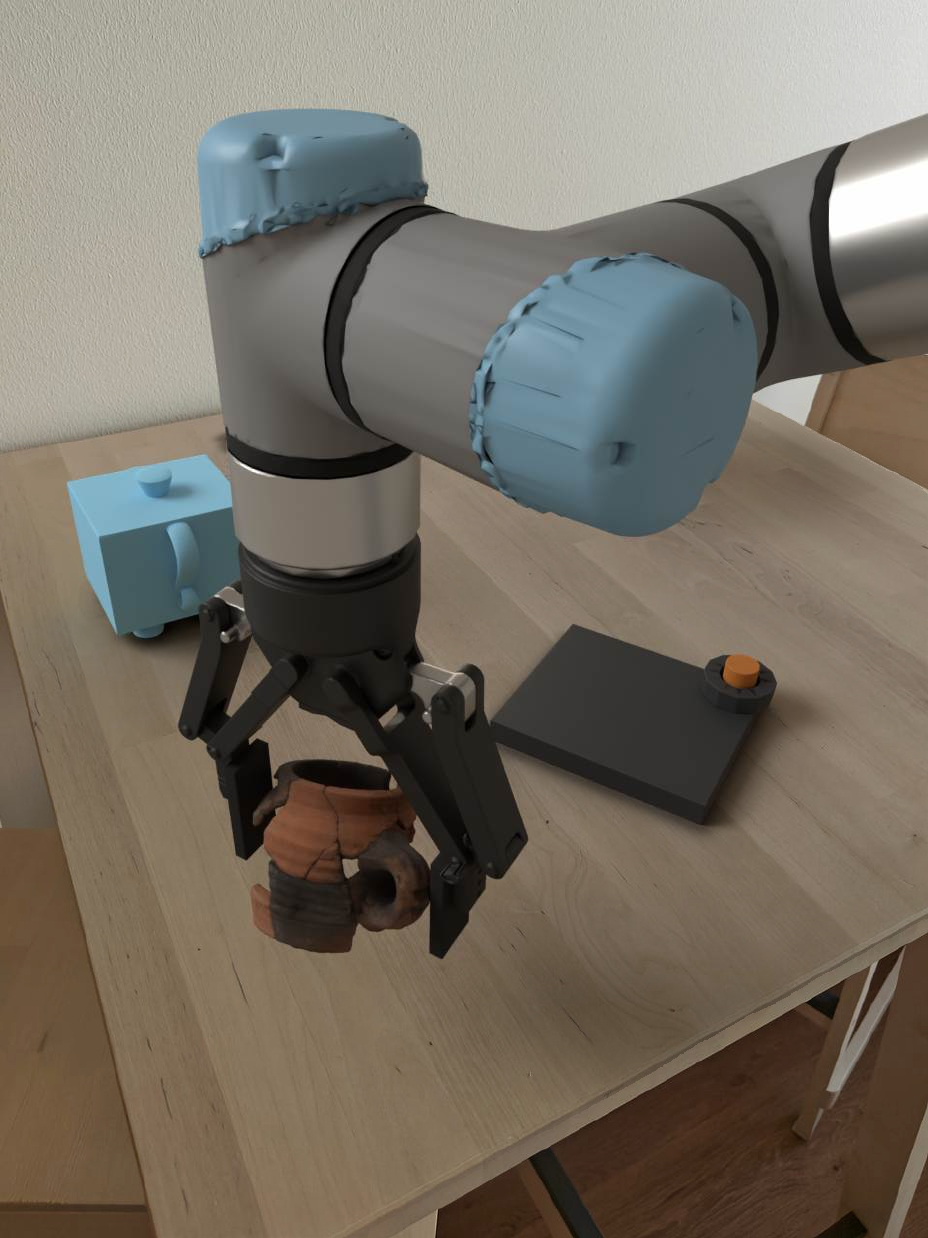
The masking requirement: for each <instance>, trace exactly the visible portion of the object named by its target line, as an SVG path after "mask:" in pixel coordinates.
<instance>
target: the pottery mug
mask: <svg viewBox="0 0 928 1238" xmlns="http://www.w3.org/2000/svg"><path fill="white" fill-rule="evenodd" d="M272 778H273V779H274V780H277V783H276V786H273V789H272V790H270V791H269V792H268V794H267V795H266V796H265V797H264V798H263V799H262V801H261V802H260V804H259V806H258V808H257V809H256V810H255V812H254V813H253V824H254V825H255V826H258V825H260V824H261V822H262V821H263V820H264V818H265V816H266V815H267V814H269V813H271V812H272V811H273V810H277V809H279V808H280V809H279V810H278V811H277V812H276V816H275V817H274V818H273V819H272V820H271V822H270V824H269V825H268V827H267V828H266V829H265V831H264V842H263V843H264V844H263V849H264V851H265V852H266V854H267V856H268V857H270V860H269V861H268V869H267V870H268V871H267V873H268V875H267V876H268V878H269V882H268V887H269V890H268V889H266V888H265V887H264V886H263V885H262V884H260V883H255V884H253V885H252V886H251V888H250V901H251V909H252V912H253V924H254V925H255V926H256V928H257V930H259V931H260V932H261V933H262V934H264V935H265V936H267V937H269V938H271V939H274V940H275V941H277V942H279V943H281V944H284V945H287V946H290V947H291V948H293V949H296V950H304V951H307V952H310V953H318V954H344V953H350V952H351V950H352V947H353V941H354V940H353V939H354V936H356V933H357V928H358V926H359V925H360V926H361V927H362V928H363V929H364V930H366V931H368V932H371V933H380V932H383V931H385V930H393V931H394V930H396V931H399V930H402V929H405V928H407V927H408V926H411V925H413V924H415V923H416V922H417V921H418V920H419V919H420V918H421V917H422V915H423V914H424V912H425V911H426V909H427V908H428V907H429V906H430V865H429V864H428V862H427V860H426V858H425V857H424V856H423V855H422V854H421V853H420V852H419V851H418V850H417V849H416V848H414V847H413V846H412V845H411V844H413V842H414V837H415V835H416V833H417V832H416V828H415V824H414V823H415V821H416V820H417V817H418V816H417V814H416V813H415V811H414V810H413V808H412V806H411V805H410V803H409V802H408V800H407V798H406V797H405V795H404V794H403V792H402V790H401V789H400V787H399V786H398V784H397V783H396V787H394V788H391V789H390V784H391V780H392V774H391V773H390V771H389V769H388V768H383V767H381V766H376V765H373V764H367V763H362V762H358V761H350V760H341V759H340V760H339V759H326V758H308V759H307V758H306V759H294V760H289V761H287V762H284V763H282V764H281V765H279V766H278V768H277V769H276V771H275V773H274V774H273V775H272ZM344 860H350V861H354V860H357V869H358V871H356V872H355V873H354V874H352V875H351V876H349V877H347V876H346V873H345V869H344V863H343V861H344Z"/></svg>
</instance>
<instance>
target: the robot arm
mask: <svg viewBox="0 0 928 1238" xmlns="http://www.w3.org/2000/svg"><path fill="white" fill-rule="evenodd" d="M423 163H424V162H423V148H422V144H421V140H420V138H419V136H418V134H417V133H416V132H415V131H414V130H413V128H411V127H410V126H409V125H407V123H403V122H400V121H399V120H398V119H396V118H394V117H392V116H388V115H385V114H379V113H374V112H368V111H361V110H360V111H359V110H351V109H339V108H338V109H337V108H281V109H279V108H278V109H267V110H259V111H257V110H256V111H251V112H243V113H240V114H236V115H232V116H229V117H226V118H224V119H222V120H219V121H217V122H216V123H215V124H214V125H212V126H211V127H209V129H208V130H207V131H206V132H205V133H203V136H202V138H201V140H200V142H199V145H198V148H197V153H196V165H197V177H198V178H197V180H198V193H199V208H200V209H199V210H200V222H201V240H200V241H199V243H198V248H197V253H198V258H199V259H201V261H202V270H203V276H204V285H205V292H206V300H207V307H208V315H209V322H210V323H209V324H210V330H211V331H210V332H211V338H212V346H213V353H214V361H215V368H216V369H215V370H216V378H217V383H218V384H217V385H218V393H219V399H220V406H221V407H220V408H221V415H222V422H223V426H224V431H225V432H224V433H225V438H226V439H225V444H226V446H225V447H226V455H227V456H226V457H227V467H228V478H229V482H230V488H231V498H232V509H233V519H234V527H235V534H236V537H237V538H238V539H239V540H240V543H239V546H238V558H239V567H240V576H241V580H235V581H234V582H232V583H231V584H229V585H228V586H226V587H225V588H224V589H222V590H221V591H219V592H218V593H216V594H215V595H214V596H212V597H210V598H209V599H208V600H206V601H205V602H203V603H202V604H200V606H199V614H198V619H199V628H200V636H201V637H200V638H201V641H200V644H199V648H198V652H197V655H196V659H195V662H194V666H193V670H192V673H191V677H190V680H189V684H188V686H187V691H186V693H185V698H184V701H183V704H182V708H181V712H180V715H179V719H178V722H177V729H178V732H179V733H180V734H181V736H182V737H184V738H185V739H187V740H188V741H191V742H192V741H195V740H196V739H199V740H200V741H202V742H203V743H205V744H206V747H205V748H206V752H207V753H208V755H209V757H210V758H211V759H212V760H213V761H215V769H216V775H217V781H218V789H219V792H220V794H221V797H222V798H223V799H225V800H227V805H228V811H229V819H230V823H231V824H230V825H231V831H232V832H231V833H232V839H233V845H234V852H235V856H236V857H238V858H240V859H242V860H244V861H246V862H247V861H248V860H249V859H250V858H251V857H252V856H253V855H254V854H255V853H256V852H257V851H258V850H259V849H260V848H261V847H262V846H264V843H263V842H264V831H265V829H266V828H267V827H268V825H269V824H270V822H271V820H272V819H273V818H274V817H275V816H276V815H277V809H275V810H273V811H272V812H271V813H269V814H267V815H266V816H265V818H264V820H263V821H262V822H261V824H260V825H258V826H255V825H254V824H253V813H254V812H255V810H256V809H257V808H258V806H259V804H260V802H261V801H262V799H263V798H264V797H265V796H266V795H267V794H268V792H269V791H270V790H272V789H273V788H274V782H273V774H272V765H271V756H270V755H271V754H270V745H269V742H267V741H265V740H263V739H261V738H258V737H256V738H255V739H254V740H253V741H252V742H251V743H250V738H252V737H253V736H254V735H255V734H256V733H258V732H259V731H260V730H261V729H262V728H263V727H264V726H263V725H265V723H266V722H267V721H268V720H269V719H270V718H271V717H272V716H273V715H274V714H275V713H276V712H277V711H278V710H279V709H280V708H281V707H282V706H283V704H284V703H285V702H287V700H289V698H292V699H293V700H295V701H296V702H297V703H298V709H301V710H303V711H305V712H307V713H309V714H311V715H312V714H313V715H317V716H325V717H327V718H329V719H330V720H331V721H333V722H334V723H336V724H338V725H339V726H341V727H343V728H345V729H348V730H350V731H353V732H354V733H355V735H356V736H357V738H358V739H359V742H360V743H361V744H362V746H363V747H364V749H365V751H366V752H367V753H368V755H370V756H372V757H380V758H381V760H382V761H383V763H384V765H385V766H386V769H387V770H389V771H390V773H391V777H393V779H394V781H395V782H396V785H397V784H398V786H399V787H400V789H401V790H402V792H403V794H404V795H405V797H406V798H407V800H408V802H409V803H410V805H411V806H412V808H413V810H414V811H415V813H416V814H417V816H416V817H417V818H418V819H419V821H420V823H421V825H422V826H423V827H424V829H425V831H426V832H427V834H428V835H429V837H430V838H431V840H432V843H434V845H435V846H436V848H437V850H438V851H439V853H438V854H437V855H436V857H434V859H433V860H432V862H430V865H429V868H430V903H429V933H428V934H429V937H428V939H429V940H428V941H429V943H428V944H429V945H428V952H429V953H428V954H430V955H432V956H434V957H435V958H437V959H440V960H443V959H444V958H445V957H446V955H447V954H448V952H449V951H450V950H451V948H452V946H453V945H454V944H455V943H456V941H457V939H458V938H459V937H460V935H461V934H462V932H463V931H464V929H465V928H466V926H467V925H468V923H469V922H470V912H471V910H472V909H473V908H474V906H475V904H476V903H477V902H478V900H479V899H480V897H481V896H482V895H483V893H484V892H485V890H486V889H487V877H488V878H491V879H493V880H501V879H503V878H504V877H505V875H506V874H507V873H508V871H509V870H510V868H511V867H512V866H513V864H514V863H515V861H516V860H517V858H518V857H519V855H520V854H521V852H522V851H523V850H524V849H525V847H526V845H527V844H528V842H529V835H528V832H527V829H526V826H525V824H524V821H523V818H522V815H521V812H520V810H519V807H518V803H517V801H516V798H515V795H514V791H513V789H512V786H511V784H510V781H509V778H508V775H507V773H506V769H505V765H504V763H503V760H502V757H501V755H500V752H499V749H498V747H497V742H496V741H495V740H494V737H493V734H492V731H491V729H490V722H489V720H488V717H487V714H486V712H485V675H484V673H483V671H482V670H481V669H480V668H479V667H478V666H477V665H475V664H473V663H468V662H467V663H464V664H462V666H460V668H458V669H457V670H456V671H455V672H452V671H450V670H446V669H444V668H441V667H438V666H435V665H432V664H429V663H426V661H425V658H424V655H423V653H422V652H421V650H420V648H419V645H418V642H417V639H416V631H417V626H418V621H419V616H420V612H421V606H422V605H421V603H422V598H421V597H422V594H421V593H422V542H421V538H420V537H421V536H419V533H418V531H419V529H420V527H421V489H422V487H421V486H422V485H421V483H422V482H421V479H422V477H421V476H422V473H421V472H422V471H421V469H422V456H423V457H425V458H426V459H427V458H428V459H429V460H432V461H434V462H436V463H438V464H439V465H442V466H444V467H446V468H448V469H451V470H452V471H455V472H456V473H459V474H461V475H463V476H465V477H467V478H469V479H471V480H473V481H476V482H478V483H480V484H482V485H484V486H486V487H488V488H490V489H492V490H495V491H497V492H498V493H501V494H502V495H503V496H505V497H506V498H507V499H510V500H513V501H514V502H515V503H516V504H517V505H518V506H521V507H523V508H524V509H529V508H530V509H531V510H533V511H535V512H538V513H540V514H542V515H545V514H548V513H552V514H555V515H557V516H558V517H561V518H565V519H569V520H572V521H575V522H578V523H581V524H583V525H586V526H589V527H592V528H595V529H598V530H601V531H603V532H606V533H609V534H611V535H615V536H619V537H626V538H627V537H628V538H640V537H646V536H651V535H656V534H658V533H661V532H663V531H665V530H667V529H670V528H671V527H673V526H674V525H676V524H678V523H679V522H681V521H682V520H684V519H685V517H687V516H689V514H691V513H692V512H693V511H694V510H695V509H696V508H697V506H698V505H699V503H700V501H701V498H702V496H703V494H704V491H705V489H706V487H707V486H708V485H709V484H713V483H715V482H716V481H718V480H719V479H720V477H721V476H722V475H723V473H724V471H725V470H726V467H727V466H728V464H729V462H730V460H731V458H732V456H733V454H734V452H735V450H736V448H737V445H738V443H739V440H740V438H741V436H742V435H743V434H742V433H743V431H744V428H745V426H746V422H747V419H748V415H749V413H750V409H751V403H752V399H753V395H754V394H755V393H758V392H760V391H762V390H763V389H765V388H768V387H771V386H774V385H776V384H780V383H785V382H788V381H792V380H797V379H803V378H808V377H815V376H821V375H826V374H827V375H828V374H831V373H832V374H833V373H837V372H843V371H849V370H855V369H859V368H862V367H868V366H872V365H877V364H882V363H888V362H892V361H894V360H898V359H899V360H900V359H905V358H912V357H918V356H923V355H928V112H927V113H923V114H922V115H921V114H920V115H918V116H915V117H912V118H909V119H907V120H905V121H901V122H899V123H895V124H893V125H890V126H887V127H883V128H881V129H879V130H875V131H872V132H870V133H867V134H865V135H863V136H861V137H858V138H855V139H853V140H850V141H847V142H844V143H840V144H836V145H832V146H829V147H826V148H822V149H819V150H817V151H816V150H815V151H814V152H811V153H808V154H805V155H801V156H799V157H796V158H793V159H790V160H788V161H785V162H781V163H778V164H776V165H773V166H770V167H767V168H764V169H761V170H758V171H756V172H753V173H750V174H747V175H743V176H741V177H738V178H735V179H732V180H729V181H726V182H723V183H719V184H716V185H713V186H708V187H706V188H703V189H699V190H696V191H693V192H690V193H687V194H683V195H680V196H677V197H674V198H670V199H663V200H660V201H656V202H652V203H646V204H643V205H639V206H636V207H632V208H629V209H624V210H621V211H618V212H613V213H610V214H606V215H603V216H599V217H596V218H591V219H588V220H584V221H580V222H576V223H573V224H570V225H566V226H563V227H558V228H554V229H545V230H535V229H533V230H532V229H525V228H518V227H513V226H508V225H503V224H499V223H494V222H489V221H485V220H480V219H475V218H472V217H471V218H470V217H466V216H461V215H459V214H456V213H455V212H451V211H446V210H444V209H442V208H439V207H436V206H433V205H431V204H427V203H425V202H426V201H425V200H426V197H428V196H429V195H428V191H429V187H430V186H429V183H428V182H427V181H426V179H425V176H424V165H423ZM252 638H253V640H254V642H255V643H256V646H258V648H259V650H260V651H261V653H262V654H263V656H264V657H265V659H266V660H267V662H268V664H269V665H270V667H271V668H270V669H269V671H268V672H267V673H266V675H264V677H263V678H262V679H261V680H260V681H259V683H258V684H257V685H256V686H255V687H254V688H253V689H252V691H251V692H250V695H249V696H248V697H247V698H246V700H244V702H243V703H241V705H240V706H239V707H238V708H237V710H236V711H235V712H234V713H233V714H232V715H231V716H230V715H229V714H228V713H227V712H228V710H229V707H230V704H231V701H232V697H233V695H234V691H235V688H236V686H237V682H238V680H239V677H240V673H241V670H242V668H243V664H244V662H245V660H246V659H245V658H246V656H247V653H248V650H249V647H250V644H251V641H252ZM395 706H396V708H397V709H396V713H395V714H394V715H393V717H392V718H390V720H389V721H388V722H386V723H385V724H384V725H382V723H381V721H380V719H382V718H383V717H384V716H385V715H386V714H387V713H388V712H389V711H391V710H392V709H393V708H394V707H395ZM430 725H431V726H430Z"/></svg>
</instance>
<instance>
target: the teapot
mask: <svg viewBox="0 0 928 1238" xmlns="http://www.w3.org/2000/svg"><path fill="white" fill-rule="evenodd" d="M66 485H67V491H68V496H69V500H70V505H71V510H72V515H73V519H74V525H75V530H76V533H77V538H78V544H79V548H80V552H81V558H82V563H83V567H84V572H85V576H86V578H87V580H88V582H89V584H90V586H91V588H92V590H93V591H94V594H95V595H96V597H97V599H98V601H99V603H100V605H101V607H102V609H103V611H104V612H105V614H106V616H107V618H108V620H109V622H110V624H111V626H112V628H113V630H114V631H115V633H116V636H121V635H125V634H129V633H130V634H131V633H132V632H133V635H135V636H136V637H138V638H142V639H148V638H149V639H150V638H154V637H157V636H159V635H160V634H161V633H162V632H163V631H164V629H165V624H167V623H170V622H174V621H178V620H181V619H185V618H189V617H192V616H196V615H199V606H200V604H202V603H203V602H205V601H206V600H208V599H209V598H210V597H212V596H214V595H215V594H216V593H218V592H219V591H221V590H222V589H224V588H225V587H226V586H228V585H229V584H231V583H232V582H234V581H235V580H241V576H240V567H239V558H238V546H239V543H240V540H239V539H238V538H237V537H236V534H235V527H234V519H233V509H232V498H231V488H230V480H228V479H227V477H226V476H225V475H224V474H223V473H222V471H221V470H220V469H219V468H218V467H217V466H216V464H215V463H214V462H213V461H212V460H211V458H210V457H209V456H208V455H207V453H204V454H200V455H192V456H189V457H184V458H183V457H182V458H178V459H174V460H168V461H163V462H158V463H153V464H147V465H138V466H133V467H130V468H127V469H124V470H118V471H114V472H108V473H104V474H99V475H94V476H88V477H84V478H80V479H75V480H69V481H67V483H66Z"/></svg>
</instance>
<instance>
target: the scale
mask: <svg viewBox="0 0 928 1238" xmlns="http://www.w3.org/2000/svg"><path fill="white" fill-rule="evenodd" d="M732 655H733V654H721V655H718V656H717V657H714V658H710V659H709V660H708V661H707V663H706V665H705V666H704V668H703V667H700V666H697V665H694V664H691V663H688V662H686V661H682V660H679V659H677V658H673V657H671V656H668V655H665V654H661V653H659V652H656V651H654V650H650V649H648V648H645V647H641V646H639V645H636V644H633V643H630V642H627V641H624V640H621V639H618V638H616V637H613V636H610V635H607V634H605V633H601V632H598V631H596V630H593V629H591V628H587V627H584V626H581V625H578V624H575V623H572V624H571V625H570V626H569V627H568V629H567V630H566V631H565V632H564V633H563V635H562V636H561V637H560V638H559V639H558V641H557V642H556V643H555V644H554V645H553V646H552V647H551V649H549V651H548V652H547V653H546V654H545V656H544V657H543V658H542V659H541V660H540V661H539V663H537V665H536V666H535V667H534V669H532V671H531V672H530V673H528V675H527V677H526V678H525V679H524V680H523V681H522V682H521V684H520V685H519V686H518V687H517V688H516V689H515V691H514V692H513V693H512V694H511V696H509V697H508V699H507V700H506V701H505V703H503V705H502V706H501V707H500V708H499V709H498V711H496V713H495V714H494V715H493V717H491V719H490V722H489V726H490V729H491V731H492V734H493V737H494V740H495V742H496V743H499V744H502V745H504V746H506V747H508V748H511V749H514V750H516V751H519V752H522V753H524V754H527V755H529V756H531V757H534V758H535V759H539V760H541V761H544V762H546V763H548V764H551V765H552V766H553V765H554V766H556V767H557V768H558V767H559V768H561V769H563V770H566V771H568V772H570V773H572V774H573V773H574V774H575V775H578V776H580V777H583V778H585V779H588V780H590V781H593V782H595V783H598V784H600V785H602V786H605V787H607V788H610V789H612V790H614V791H617V792H619V793H622V794H624V795H627V796H630V797H632V798H635V799H636V800H639V801H641V802H643V803H646V804H649V805H652V806H654V807H656V808H659V809H661V810H664V811H666V812H669V813H671V814H674V815H676V816H678V817H681V818H684V819H686V820H689V821H691V822H693V823H696V824H698V825H702V824H703V822H704V821H705V818H706V816H707V814H708V813H709V810H710V808H711V806H712V804H713V803H714V801H715V799H716V797H717V795H718V793H719V792H720V789H721V787H722V785H723V784H724V781H725V779H726V778H727V775H728V773H729V772H730V769H731V768H732V766H733V763H734V762H735V760H736V758H737V756H738V754H739V752H740V750H741V748H742V746H743V744H744V743H745V740H746V739H747V736H748V735H749V733H750V731H751V729H752V727H753V725H754V723H755V721H756V720H757V718H758V715H759V714H760V712H762V711H765V710H767V709H768V708H769V707H770V704H771V703H772V701H773V699H774V696H775V692H776V688H777V685H778V681H777V679H776V677H775V674H774V672H773V670H771V669H770V668H768V667H767V666H766V665H765V664H764V663H762V662H761V661H760V660H757V659H755V660H756V661H757V662H758V663H759V665H760V670H759V674H758V678H757V682H756V684H755V686H754V687H752V688H750V689H745V688H736V687H733V686H731V685H729V684H727V683H726V682H725V681H724V679H723V672H724V668H725V664H726V660H727V658H728V657H730V656H732Z"/></svg>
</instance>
